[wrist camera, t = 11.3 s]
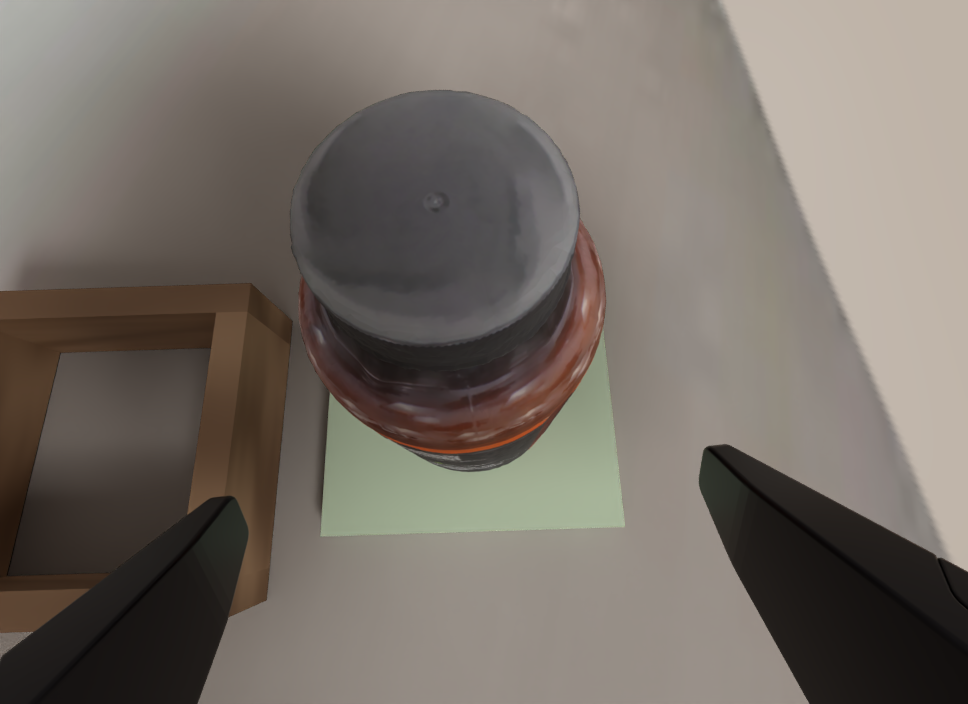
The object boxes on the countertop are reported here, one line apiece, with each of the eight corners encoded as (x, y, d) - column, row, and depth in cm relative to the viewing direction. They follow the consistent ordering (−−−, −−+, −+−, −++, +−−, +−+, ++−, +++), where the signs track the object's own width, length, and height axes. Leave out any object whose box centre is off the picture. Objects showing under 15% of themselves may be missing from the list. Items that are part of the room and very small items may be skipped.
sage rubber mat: (617, 525, 17) (624, 527, 16) (329, 534, 17) (320, 536, 16) (589, 266, 20) (594, 253, 19) (345, 274, 20) (338, 262, 19)
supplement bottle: (519, 290, 18) (562, -13, 7) (581, 439, 17) (751, 325, 6) (368, 341, 18) (178, 94, 7) (416, 499, 16) (266, 499, 5)
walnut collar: (266, 599, 16) (208, 626, 13) (-32, 609, 16) (-167, 637, 13) (292, 321, 19) (250, 283, 16) (40, 329, 19) (-54, 293, 16)
